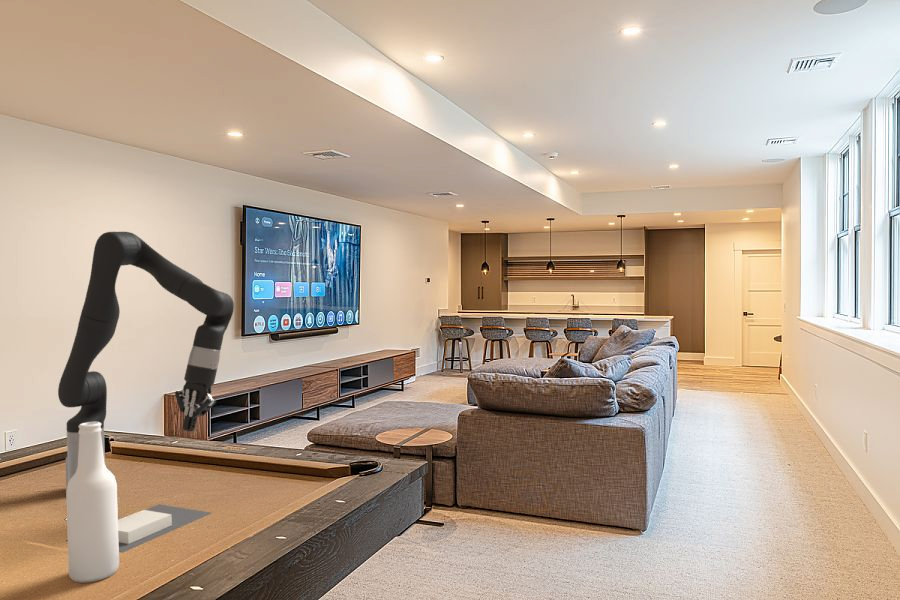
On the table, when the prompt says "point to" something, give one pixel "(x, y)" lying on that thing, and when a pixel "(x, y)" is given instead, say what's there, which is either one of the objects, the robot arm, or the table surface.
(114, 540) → the alcohol
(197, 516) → the mat
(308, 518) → the table surface
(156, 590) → the table surface
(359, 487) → the table surface
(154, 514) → the tile
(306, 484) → the table surface
